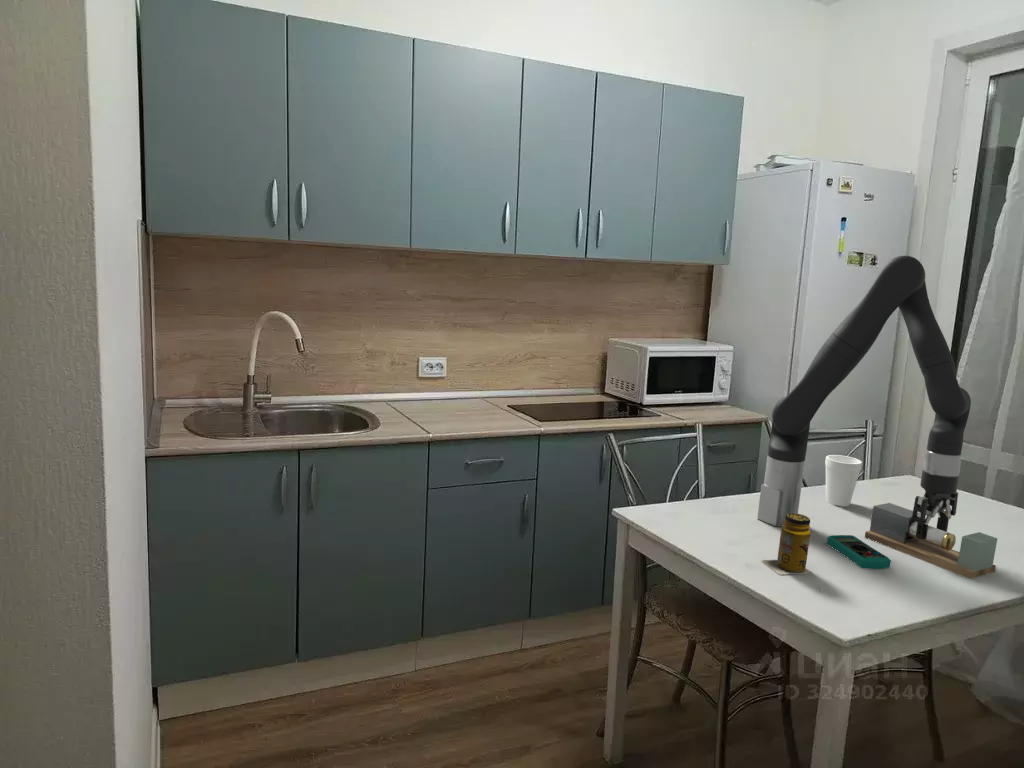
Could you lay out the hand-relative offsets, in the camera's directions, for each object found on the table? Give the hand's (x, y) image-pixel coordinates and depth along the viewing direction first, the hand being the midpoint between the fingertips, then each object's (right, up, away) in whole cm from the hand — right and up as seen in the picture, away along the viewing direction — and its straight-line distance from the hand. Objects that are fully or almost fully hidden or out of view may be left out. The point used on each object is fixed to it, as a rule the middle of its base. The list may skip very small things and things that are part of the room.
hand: (931, 535), depth 175 cm
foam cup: (-6, +2, +36) cm, 37 cm away
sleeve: (-5, -2, +8) cm, 9 cm away
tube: (-3, -1, +4) cm, 5 cm away
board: (-1, -5, +1) cm, 5 cm away
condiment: (-39, -5, -12) cm, 41 cm away
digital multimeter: (-19, -5, -3) cm, 20 cm away
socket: (+5, -5, -9) cm, 11 cm away
